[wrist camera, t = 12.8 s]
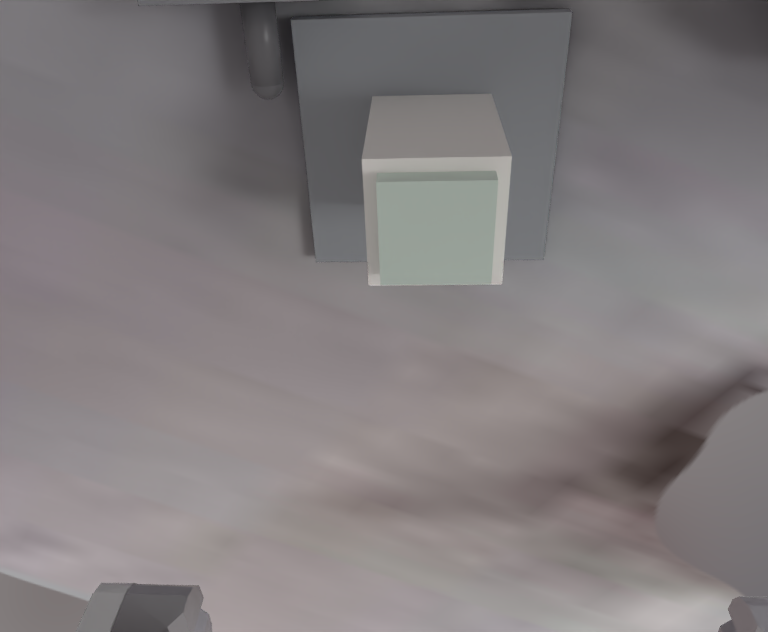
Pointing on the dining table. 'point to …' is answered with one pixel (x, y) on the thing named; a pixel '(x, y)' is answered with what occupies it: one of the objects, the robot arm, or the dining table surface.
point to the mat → (428, 77)
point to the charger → (435, 190)
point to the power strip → (253, 41)
